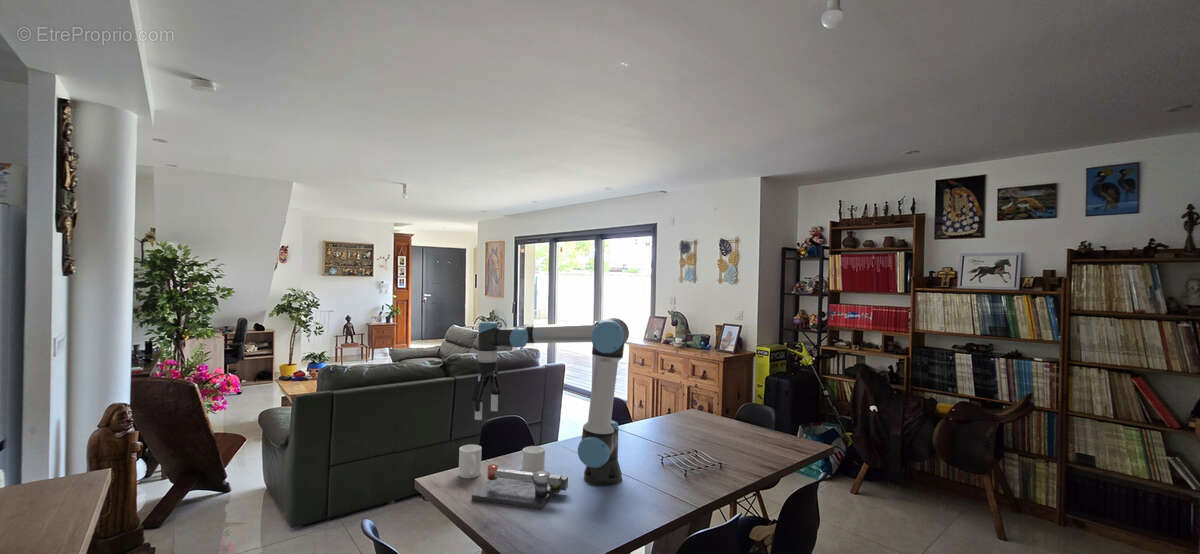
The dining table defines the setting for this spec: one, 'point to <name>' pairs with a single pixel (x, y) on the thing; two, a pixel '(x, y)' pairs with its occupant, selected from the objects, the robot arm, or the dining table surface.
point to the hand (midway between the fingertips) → (486, 415)
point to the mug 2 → (533, 459)
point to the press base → (518, 493)
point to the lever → (523, 476)
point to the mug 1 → (470, 461)
